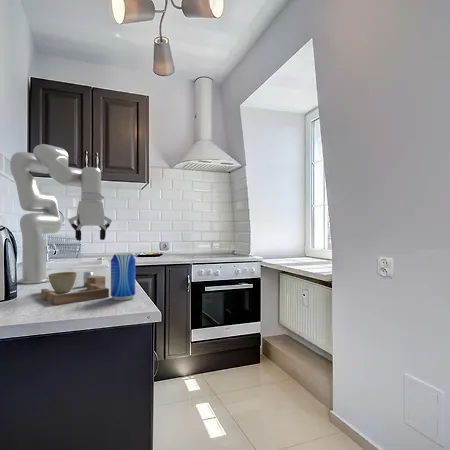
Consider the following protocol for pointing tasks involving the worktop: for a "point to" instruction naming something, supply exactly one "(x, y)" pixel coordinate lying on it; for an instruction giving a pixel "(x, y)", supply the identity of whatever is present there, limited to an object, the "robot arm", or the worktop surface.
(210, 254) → the worktop surface
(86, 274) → the grey metal cylinder
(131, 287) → the beer can
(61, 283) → the flower pot
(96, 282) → the walnut block
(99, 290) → the bay
